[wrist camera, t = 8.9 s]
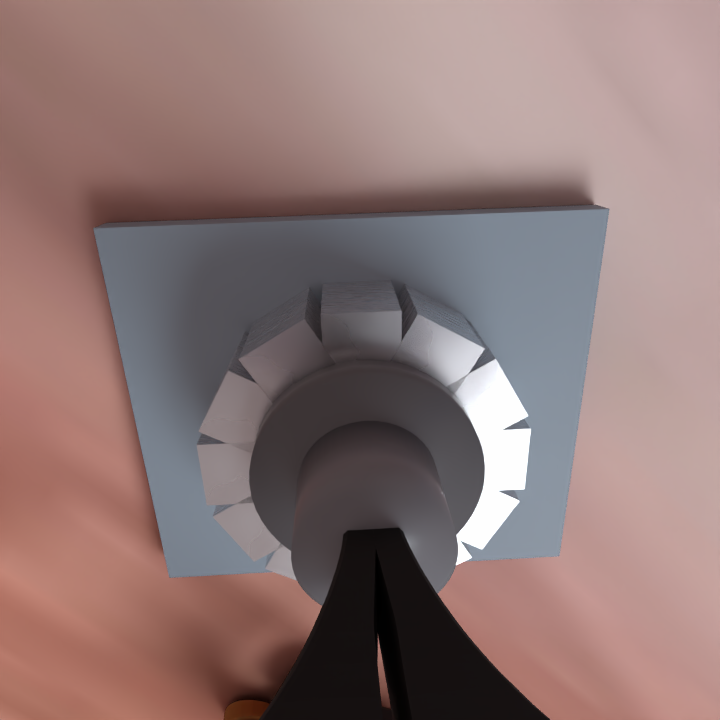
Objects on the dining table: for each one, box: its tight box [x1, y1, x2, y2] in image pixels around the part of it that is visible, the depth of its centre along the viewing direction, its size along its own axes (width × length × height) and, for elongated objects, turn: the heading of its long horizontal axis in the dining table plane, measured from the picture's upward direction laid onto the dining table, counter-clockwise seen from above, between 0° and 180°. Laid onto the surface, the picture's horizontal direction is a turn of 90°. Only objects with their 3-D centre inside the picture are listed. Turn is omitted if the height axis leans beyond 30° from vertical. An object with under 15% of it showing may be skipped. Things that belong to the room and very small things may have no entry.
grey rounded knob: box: [249, 360, 485, 606], centre depth 16 cm, size 7×7×7 cm
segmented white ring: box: [197, 280, 531, 580], centre depth 18 cm, size 10×10×3 cm
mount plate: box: [93, 205, 609, 578], centre depth 20 cm, size 16×14×1 cm
